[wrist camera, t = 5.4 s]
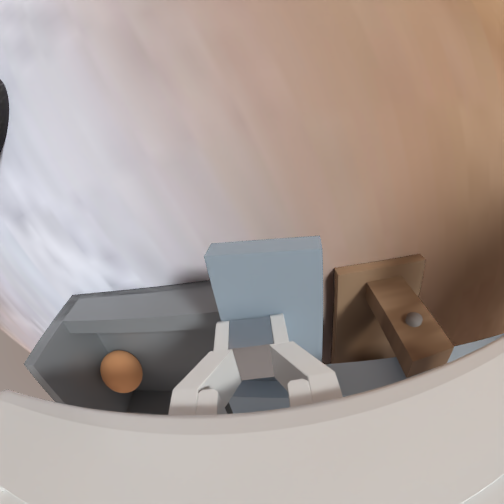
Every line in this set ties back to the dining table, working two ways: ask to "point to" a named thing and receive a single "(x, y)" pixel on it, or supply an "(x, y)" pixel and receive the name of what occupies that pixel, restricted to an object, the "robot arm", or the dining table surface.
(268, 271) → the lever
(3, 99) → the travel mug
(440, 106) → the dining table surface
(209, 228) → the dining table surface
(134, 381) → the ball
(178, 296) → the tray
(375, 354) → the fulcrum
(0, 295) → the dining table surface
